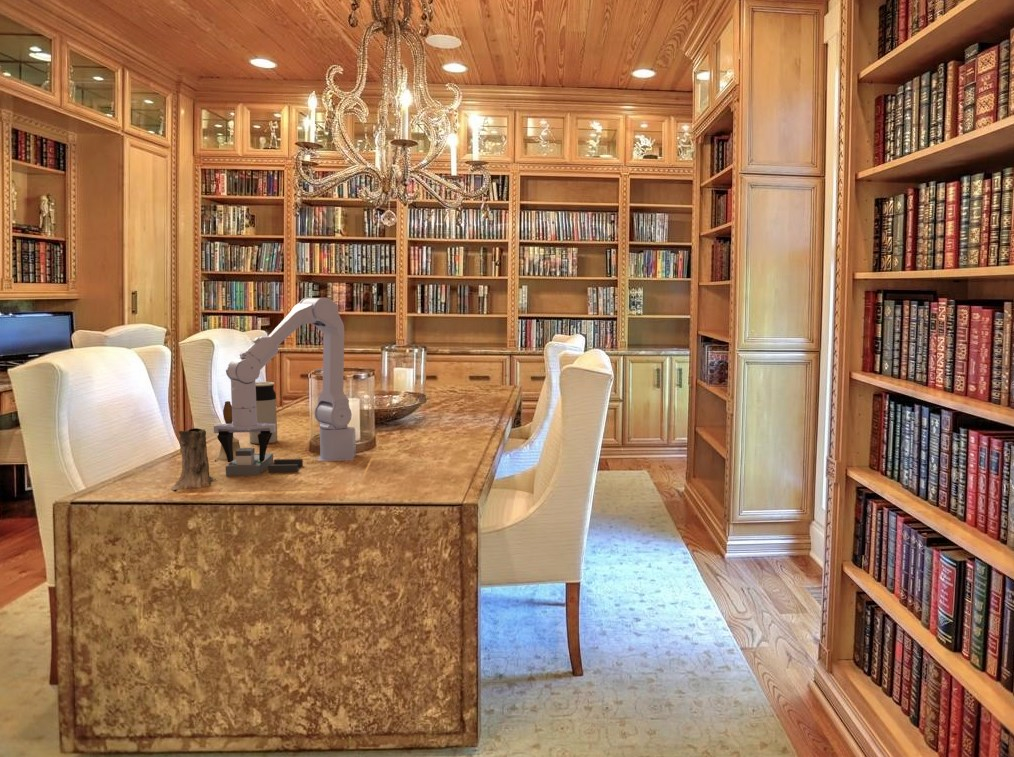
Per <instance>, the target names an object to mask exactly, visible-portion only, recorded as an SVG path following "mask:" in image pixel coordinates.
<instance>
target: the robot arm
mask: <svg viewBox="0 0 1014 757" xmlns="http://www.w3.org/2000/svg"><path fill="white" fill-rule="evenodd" d="M309 324H311V325H314V326H315V327H316V328H318V330H319V331H321V333H322V334H323V337H322V338H323V339H322V340H323V342H322V343H323V344H322V346H323V347H322V391H321V393H320V394H319V395H318V396H317V404H316V406H315V409H314V418H315V419H316V420H317V422H318V426H319V448H320V449H319V451H320V452H319V453H320V454H319V457H318V458H317V460H316V461H317V462H324V461H326V462H327V461H328V462H332V461H333V462H334V461H336V462H337V461H338V462H339V461H340V462H341V461H353V460H354V459H355V457H356V456H357V448H356V446H357V445H356V444H357V442H356V441H357V440H356V439H357V438H356V428H355V427H352V426H348V425H349V424H350V422H351V420H352V416H353V414H352V410H351V408H350V403H349V398H348V397H347V395H346V394H345V392H344V367H345V366H344V364H345V363H344V362H345V326H344V322H343V320H342V318H341V316H340V313H339V306H338V304H336V302H334V300H332V299H331V298H329V297H310V296H307V297H304V298H302V299H301V300H300V301H299V303H297V304H295V305H294V306H293V307H292V309H291V311H290V312H289V313H288V314H287V315H286V316H285V317H284V318H283V319H282V320H281V321H280V323H278V325H277V326H276V327H275V328H274V329H273V330H272V331H271V332H270V333H269V335H261V336H260V337H255V338H254V339H253V340H252V342H253V343H252V344H251V345H250V346H249V347H248V348H247V349H246V350H245V351H241V352H240V354H239V358H238V357H237V358H234V359H232V360H231V361H230V362H229V364H228V365H227V366H228V367H227V369H225V374H226V376H227V377H228V379H229V380H230V388H231V389H230V394H231V406H232V424H226V423H217V424H214V425H213V434H218V435H217V437H216V438H217V440H218V441H219V443H220V446H221V445H222V446H223V448H224V451H225V453H226V456H227V460H226V461H227V463H231V462H232V461H233V437H234V433H237V434H238V433H249V432H260V434H258V441H259V444H258V448H259V449H258V450H259V460H260V462H263V461H264V460H265V453H266V452H267V448H268V443H269V440H270V438H271V436H272V433H274V432H276V424H267V423H257V407H256V384H255V382H256V380H257V379H258V378H259V377H260V373H261V370H262V369H263V368H264V367H265V366H266V365H267V364H268V363H269V362H271V360H272V359H273V358H274V357H275V356H276V355H277V354H278V353H279V345H281V343H283V342H284V341H285V340H286V339H287V338H289V336H291V334H293V333H294V332H296V330H297V329H298V328H300V327H301V326H304V325H309ZM269 444H270V443H269Z"/></svg>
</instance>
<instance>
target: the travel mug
mask: <svg viewBox="0 0 1014 757" xmlns="http://www.w3.org/2000/svg"><path fill="white" fill-rule="evenodd" d="M255 384H256V407H257V423H267V424H276V432H274V433H272V436H271V438H270V440H269V443H268V444H274V443H275V442H277V441H278V423H277V422H278V420H277V418H278V415H277V393H276V391H275V389H274V386H275V382H272V381H255ZM248 433H249V442H250V443H251V444H254V445H259V441H258V434H260V432H248Z"/></svg>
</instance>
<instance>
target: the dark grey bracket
mask: <svg viewBox="0 0 1014 757" xmlns="http://www.w3.org/2000/svg"><path fill="white" fill-rule="evenodd" d="M303 464H304V463H303V458H275V459H273V464H271V465H268V468H267V470H268V472H267V473H268V474H280V473H281V474H283V473H284V474H287V473H289V474H290V473H291V474H293V473H295V474H296V473H298V472H299V471H300V470H301V468H303V466H304V465H303Z"/></svg>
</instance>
